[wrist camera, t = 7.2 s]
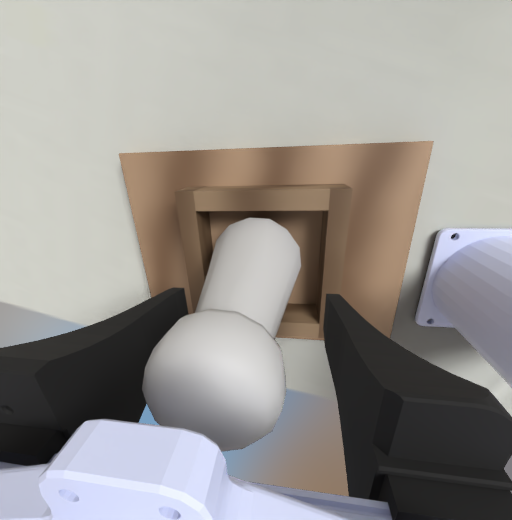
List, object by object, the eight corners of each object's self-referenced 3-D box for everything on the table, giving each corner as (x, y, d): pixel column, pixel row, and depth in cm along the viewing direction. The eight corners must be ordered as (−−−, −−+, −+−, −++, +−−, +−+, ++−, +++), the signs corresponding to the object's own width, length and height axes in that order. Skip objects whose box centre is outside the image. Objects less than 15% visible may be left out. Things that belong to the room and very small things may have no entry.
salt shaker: (257, 192, 17) (178, 281, 5) (316, 247, 18) (367, 432, 6) (207, 249, 19) (68, 406, 7) (262, 296, 20) (220, 502, 8)
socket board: (423, 141, 16) (460, 138, 12) (383, 334, 21) (400, 368, 18) (129, 153, 18) (92, 153, 15) (165, 321, 24) (144, 349, 21)
